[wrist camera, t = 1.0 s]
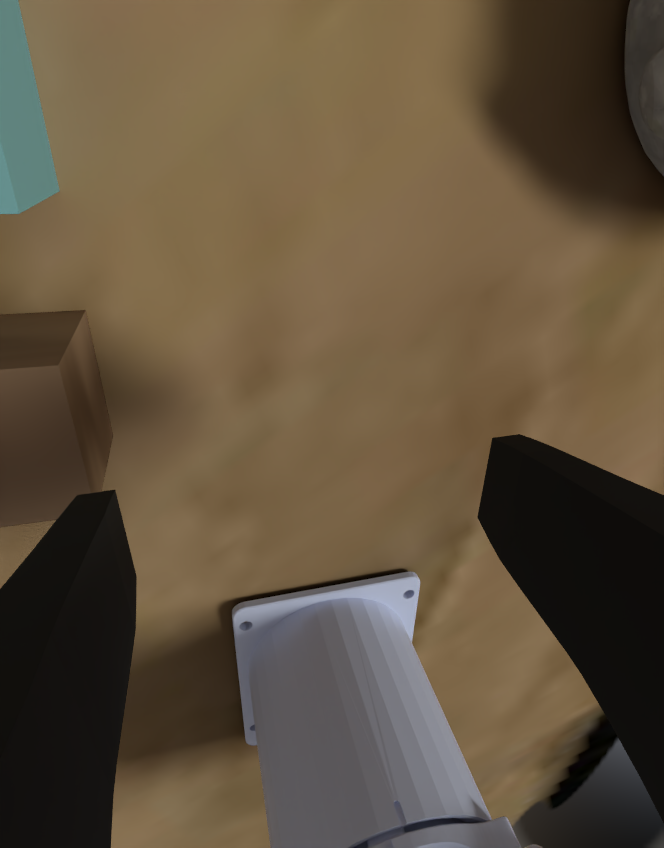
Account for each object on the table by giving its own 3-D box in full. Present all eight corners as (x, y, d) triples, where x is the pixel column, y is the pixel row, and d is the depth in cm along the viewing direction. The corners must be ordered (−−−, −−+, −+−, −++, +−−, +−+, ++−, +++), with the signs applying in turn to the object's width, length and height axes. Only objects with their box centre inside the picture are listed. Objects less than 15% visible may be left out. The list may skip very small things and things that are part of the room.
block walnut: (113, 434, 16) (96, 514, 13) (-31, 449, 15) (-89, 539, 12) (86, 309, 14) (58, 365, 11) (-81, 317, 13) (-167, 382, 10)
